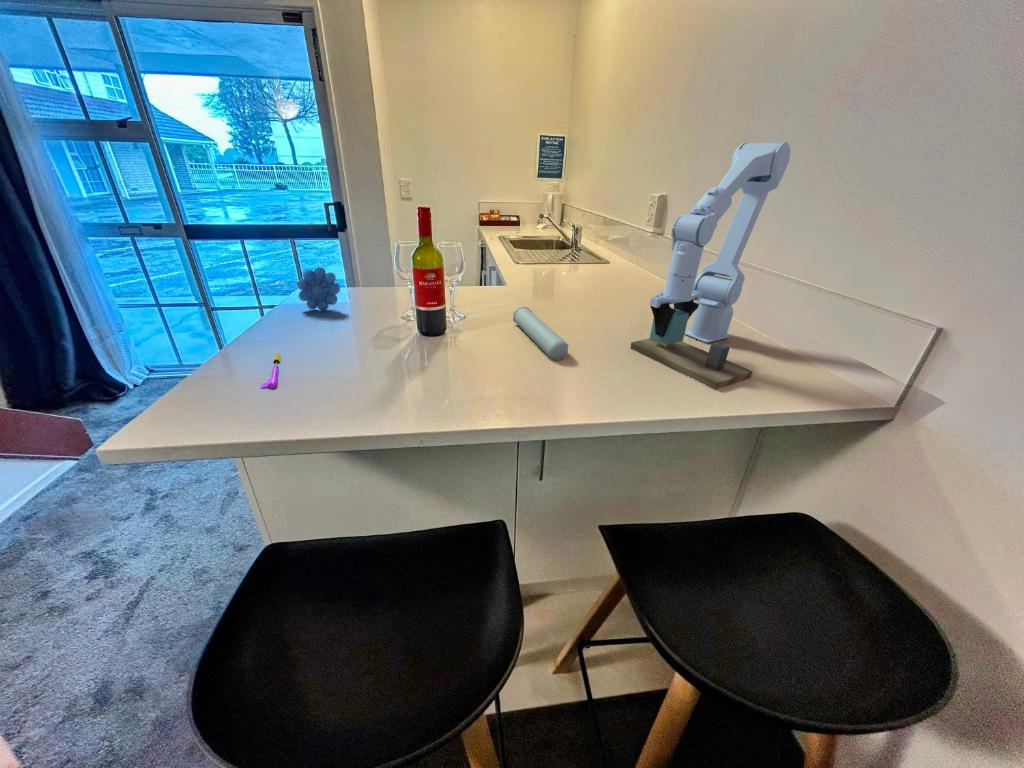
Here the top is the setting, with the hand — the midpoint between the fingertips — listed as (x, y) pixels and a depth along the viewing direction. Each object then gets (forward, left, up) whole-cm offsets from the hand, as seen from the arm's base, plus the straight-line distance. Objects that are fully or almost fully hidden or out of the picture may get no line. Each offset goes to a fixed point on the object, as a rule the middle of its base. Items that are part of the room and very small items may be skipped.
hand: (668, 333), depth 93 cm
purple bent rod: (+81, -28, -5) cm, 85 cm away
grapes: (+66, -64, -5) cm, 92 cm away
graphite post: (0, +13, -3) cm, 13 cm away
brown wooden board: (0, +6, -5) cm, 8 cm away
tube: (+23, -18, -5) cm, 30 cm away
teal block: (0, 0, -2) cm, 2 cm away
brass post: (0, 0, -3) cm, 3 cm away
